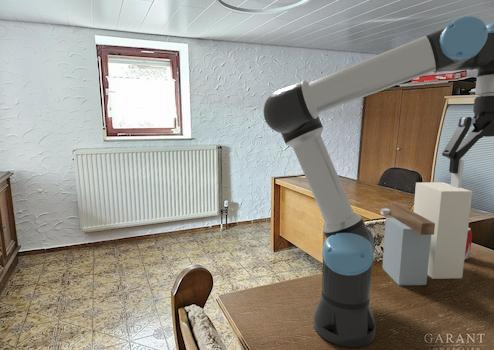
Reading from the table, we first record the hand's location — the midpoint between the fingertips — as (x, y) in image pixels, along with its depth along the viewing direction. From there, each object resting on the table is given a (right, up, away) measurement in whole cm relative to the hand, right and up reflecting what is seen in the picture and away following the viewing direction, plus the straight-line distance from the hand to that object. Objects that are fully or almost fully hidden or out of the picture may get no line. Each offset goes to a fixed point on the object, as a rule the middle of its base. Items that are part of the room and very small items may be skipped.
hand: (483, 186), depth 75 cm
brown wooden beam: (-3, -13, +29) cm, 32 cm away
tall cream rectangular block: (+11, -31, +38) cm, 50 cm away
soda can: (+25, -29, +47) cm, 61 cm away
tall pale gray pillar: (-3, -32, +32) cm, 45 cm away
